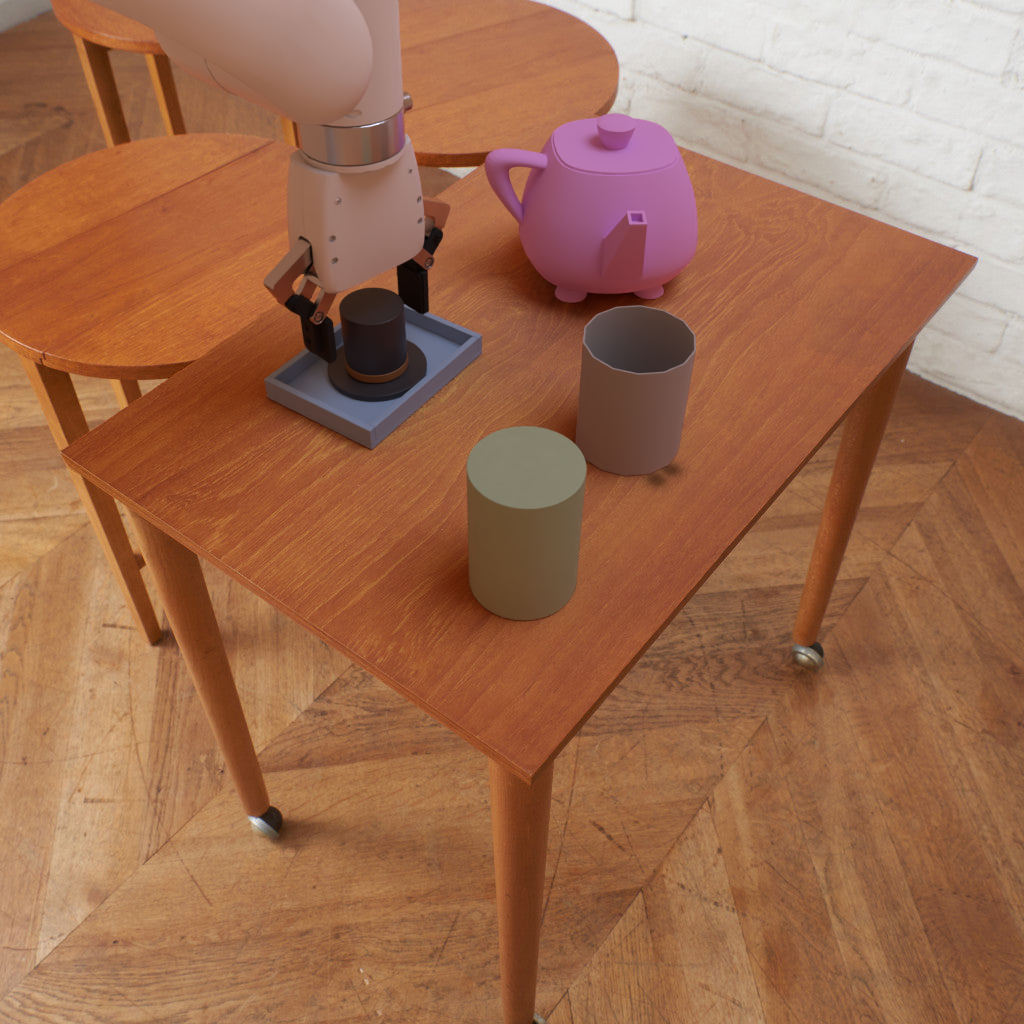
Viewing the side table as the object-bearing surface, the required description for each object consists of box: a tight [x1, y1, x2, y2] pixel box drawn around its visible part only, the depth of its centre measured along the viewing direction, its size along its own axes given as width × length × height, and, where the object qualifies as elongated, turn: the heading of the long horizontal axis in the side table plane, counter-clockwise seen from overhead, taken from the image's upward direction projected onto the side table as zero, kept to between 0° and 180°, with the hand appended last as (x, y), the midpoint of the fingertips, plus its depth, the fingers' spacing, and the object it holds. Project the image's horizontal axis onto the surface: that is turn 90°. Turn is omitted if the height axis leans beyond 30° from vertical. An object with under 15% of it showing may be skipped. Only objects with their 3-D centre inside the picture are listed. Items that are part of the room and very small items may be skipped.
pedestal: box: [465, 425, 588, 621], centre depth 70 cm, size 8×8×11 cm
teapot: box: [484, 113, 699, 304], centre depth 94 cm, size 20×20×15 cm
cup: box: [574, 304, 697, 477], centre depth 81 cm, size 8×8×10 cm
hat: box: [327, 287, 427, 402], centre depth 87 cm, size 8×8×7 cm
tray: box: [263, 304, 483, 450], centre depth 89 cm, size 15×11×2 cm
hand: (369, 330), depth 86 cm, fingers open, 9 cm apart
